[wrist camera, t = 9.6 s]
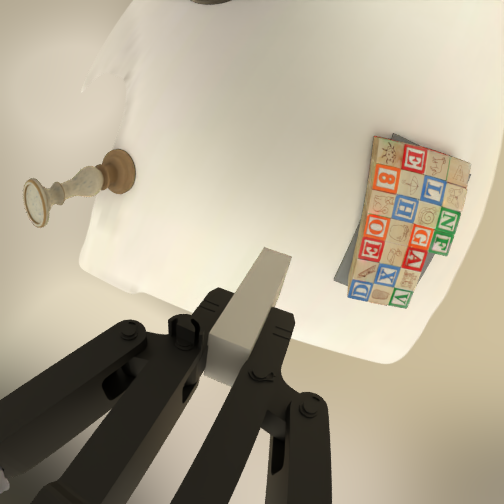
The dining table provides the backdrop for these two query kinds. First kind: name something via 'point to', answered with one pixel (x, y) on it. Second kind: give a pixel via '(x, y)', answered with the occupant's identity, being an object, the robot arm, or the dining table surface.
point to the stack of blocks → (404, 219)
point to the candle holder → (79, 185)
